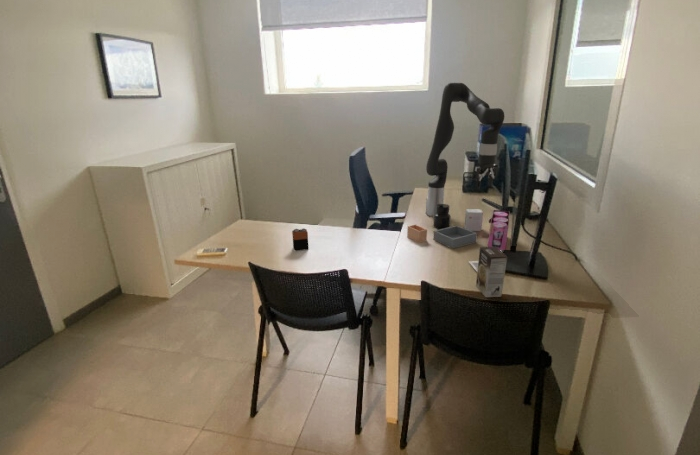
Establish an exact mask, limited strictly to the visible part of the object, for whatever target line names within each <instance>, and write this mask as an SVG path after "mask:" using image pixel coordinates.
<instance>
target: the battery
mask: <svg viewBox="0 0 700 455" xmlns="http://www.w3.org/2000/svg"><path fill="white" fill-rule="evenodd" d="M291 234H292V245H293V250H294V251H296V252H297V251H305V250H309V234H308V229H307V228H300V229H299V228H294V229H293V230H292V232H291Z"/></svg>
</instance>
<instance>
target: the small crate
mask: <svg viewBox="0 0 700 455" xmlns="http://www.w3.org/2000/svg"><path fill="white" fill-rule="evenodd" d="M406 234H407V236H406V237H407V238H408V239H410V240H412V241H415V242H416V243H418V244H419V243H422V242H426V241H427V239H428V238H427V236H428V229H427V228H425V227H423V226H420V225H417V224H412V225H407V233H406Z"/></svg>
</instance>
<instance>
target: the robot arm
mask: <svg viewBox="0 0 700 455" xmlns="http://www.w3.org/2000/svg"><path fill="white" fill-rule="evenodd" d="M453 102H454V103H458V102H461V103H465V104H466V107H467V109H468V111H469V112H471V114H473V115H475V116H476V117H477V120H478V121H479V122H480V123H481V124H482V125H486V126H489V128H487V129H484V130H483V131H482V132H481V140H480V147H479V152H478V153H479V154H478V164H479V165H478V166H474V168H473V174H472V180H474V181H475V185H474V186H475V189H478V190H479V189H481V184H482V183H481V182H482V181H481V180H482V179H483V178H484V177H485V176H486V175H487V177H488V178H487V179H488V180H487V186H488V187H492V186H493V183H494V179H495V177H496V178H497V177H498V169H499V164H497V163H496V160H497V152H498V138H499V137H498V136H499V134H500V131H501V129H502V127H503V123H504V121H505V112H504V110H503V109H502V108H499V107H496V108H495V107H494V108H491V107H490V105H489V103H487V102H486V101H484V100H483V99H481V98H480V97H478V96H477V95H476V94H475V93H474V92H473V91H472V90H471V89H470V88H469V87H468V86H467V85H466V84H465V83H463V82H448V83H446V84H445V85H444V88H443V90H442V96H441V104H440V110H439V117H438V121H437V125H436V128H435V134H434V138H433V143H432V146H431V150H430V153H429V156H428V158H427V162H426V165H425V166H426V167H425V168H426V170H425V171H426V173H427V174H428V175H429V176H432V177H433V176H434V177H433V178H432V179H431V180H429V181H428V186H427V188H428V189H427V197H426V199H425V200H426V202H425V203H426V204H425V214H426V215H427V216H429V217H433V218H434V214H435V213H436V206H437V205H438V204H444V197H445V186H446V181H447V175H448V162H447V160H446V159H445V158H440V156H441V154H442V152H443V151H444V150H445V149H446V147H447V146H448V145H449V143H450V142H451V141H452V138H453V135H454V131H455V125H454V124H455V123H454V121H453V117H452V114H451V107H452V103H453Z"/></svg>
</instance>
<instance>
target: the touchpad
mask: <svg viewBox="0 0 700 455" xmlns="http://www.w3.org/2000/svg"><path fill="white" fill-rule="evenodd" d="M468 263H469V264H470V266H471V267H472V268H473V269H474V270H475V271H476V273H477V272H478V263H479V260H475V261H473V260H470V261H469V260H468Z"/></svg>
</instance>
